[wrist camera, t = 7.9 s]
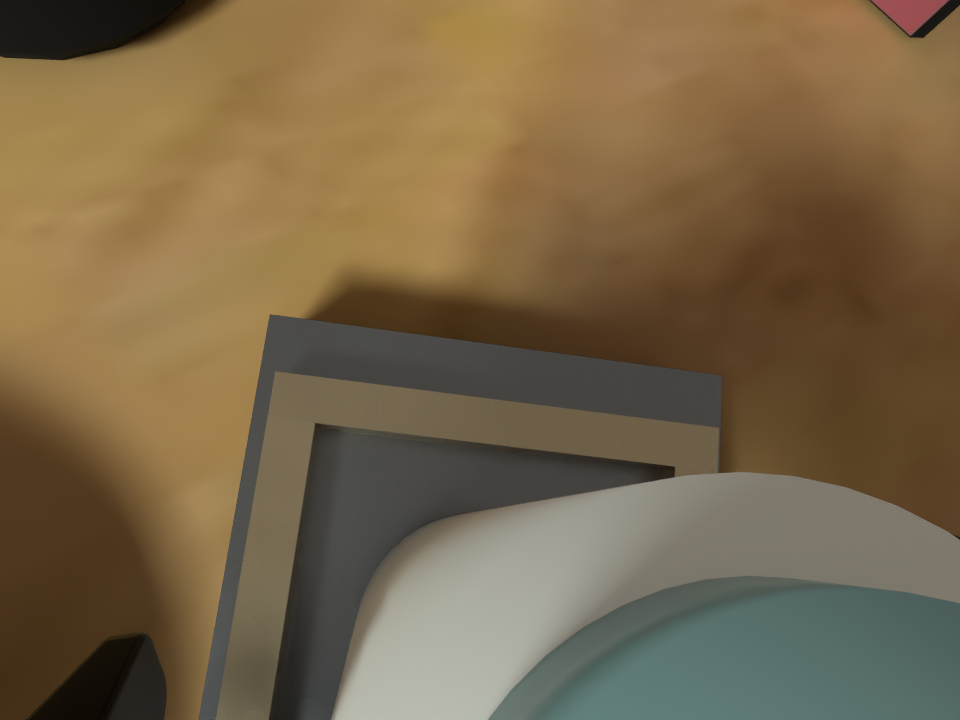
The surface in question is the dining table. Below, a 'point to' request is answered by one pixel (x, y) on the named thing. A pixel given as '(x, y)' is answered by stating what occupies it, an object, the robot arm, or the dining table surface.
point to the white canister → (665, 609)
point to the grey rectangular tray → (411, 478)
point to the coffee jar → (75, 25)
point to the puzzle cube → (916, 14)
